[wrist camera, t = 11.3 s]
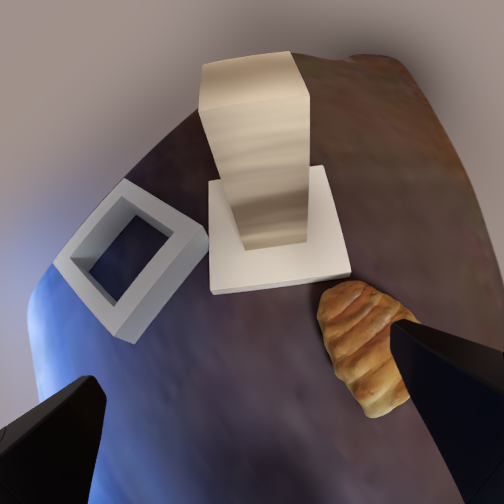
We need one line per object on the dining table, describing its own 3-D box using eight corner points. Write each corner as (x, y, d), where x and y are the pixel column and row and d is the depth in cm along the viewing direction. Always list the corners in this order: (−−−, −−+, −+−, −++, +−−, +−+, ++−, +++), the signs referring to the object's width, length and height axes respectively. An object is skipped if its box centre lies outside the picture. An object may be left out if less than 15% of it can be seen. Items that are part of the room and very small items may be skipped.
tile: (349, 277, 21) (351, 271, 20) (213, 295, 22) (210, 290, 21) (322, 172, 26) (322, 165, 25) (211, 188, 26) (208, 181, 26)
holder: (212, 245, 24) (202, 225, 21) (134, 344, 21) (113, 336, 18) (137, 197, 27) (124, 177, 25) (71, 275, 25) (52, 262, 22)
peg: (306, 242, 22) (309, 95, 11) (245, 250, 22) (198, 111, 11) (296, 193, 24) (289, 51, 13) (241, 201, 24) (202, 64, 13)
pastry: (291, 321, 21) (291, 306, 17) (362, 267, 22) (374, 244, 18) (369, 424, 16) (386, 430, 13) (438, 361, 17) (463, 352, 14)
